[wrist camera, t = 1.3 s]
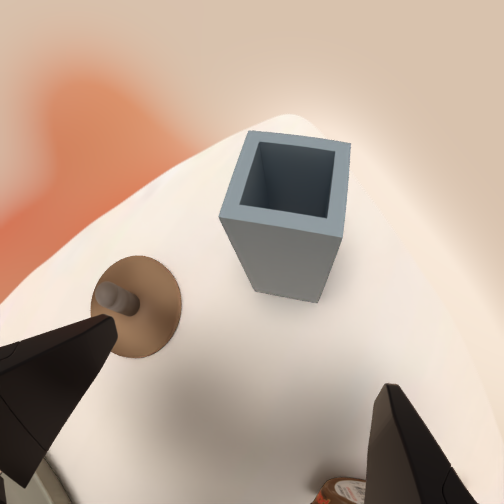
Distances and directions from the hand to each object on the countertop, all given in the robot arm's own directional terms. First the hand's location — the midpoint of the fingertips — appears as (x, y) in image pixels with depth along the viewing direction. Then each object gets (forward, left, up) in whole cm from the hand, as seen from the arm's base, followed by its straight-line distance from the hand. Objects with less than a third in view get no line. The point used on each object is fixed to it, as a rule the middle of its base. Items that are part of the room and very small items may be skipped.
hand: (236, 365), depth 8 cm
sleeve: (+8, -1, -13) cm, 15 cm away
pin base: (+3, +12, -13) cm, 18 cm away
